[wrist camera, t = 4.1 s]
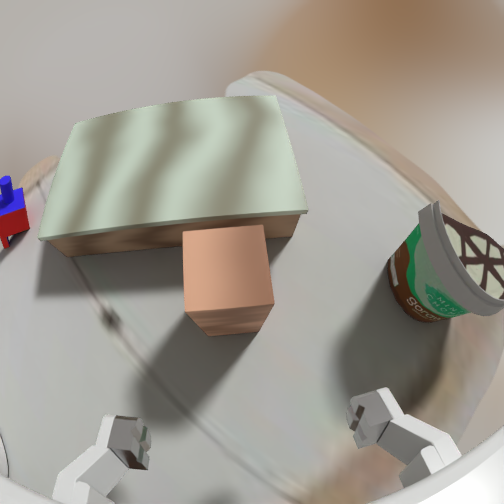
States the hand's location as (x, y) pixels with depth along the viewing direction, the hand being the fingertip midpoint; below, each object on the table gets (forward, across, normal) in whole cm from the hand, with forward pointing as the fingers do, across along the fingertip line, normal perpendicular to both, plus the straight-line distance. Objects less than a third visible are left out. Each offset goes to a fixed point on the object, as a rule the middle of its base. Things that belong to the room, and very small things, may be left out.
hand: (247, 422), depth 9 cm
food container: (+12, -18, +5) cm, 22 cm away
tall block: (+13, 0, +3) cm, 13 cm away
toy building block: (+21, +25, -4) cm, 33 cm away
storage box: (+22, +5, -6) cm, 24 cm away
